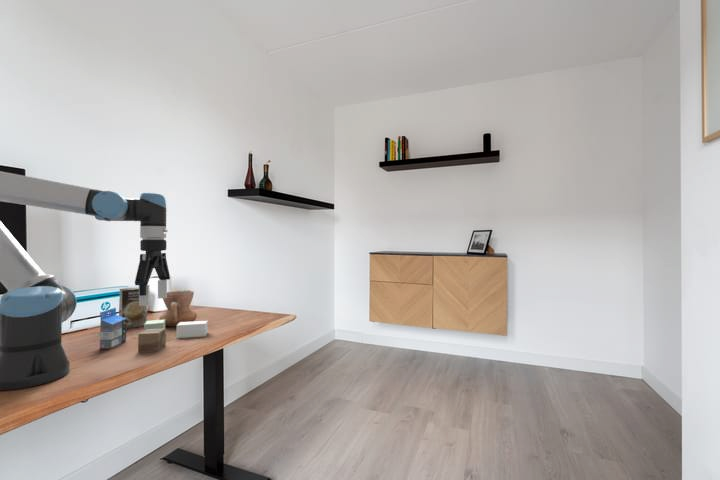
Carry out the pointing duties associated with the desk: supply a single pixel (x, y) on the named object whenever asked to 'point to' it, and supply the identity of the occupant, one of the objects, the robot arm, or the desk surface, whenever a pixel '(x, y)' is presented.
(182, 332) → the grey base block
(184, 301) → the ceramic jug
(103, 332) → the label tape cartridge
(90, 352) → the desk surface
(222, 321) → the desk surface
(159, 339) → the walnut cube
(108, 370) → the desk surface
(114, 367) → the desk surface
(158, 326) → the sage cube
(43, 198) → the robot arm
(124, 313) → the coffee box
